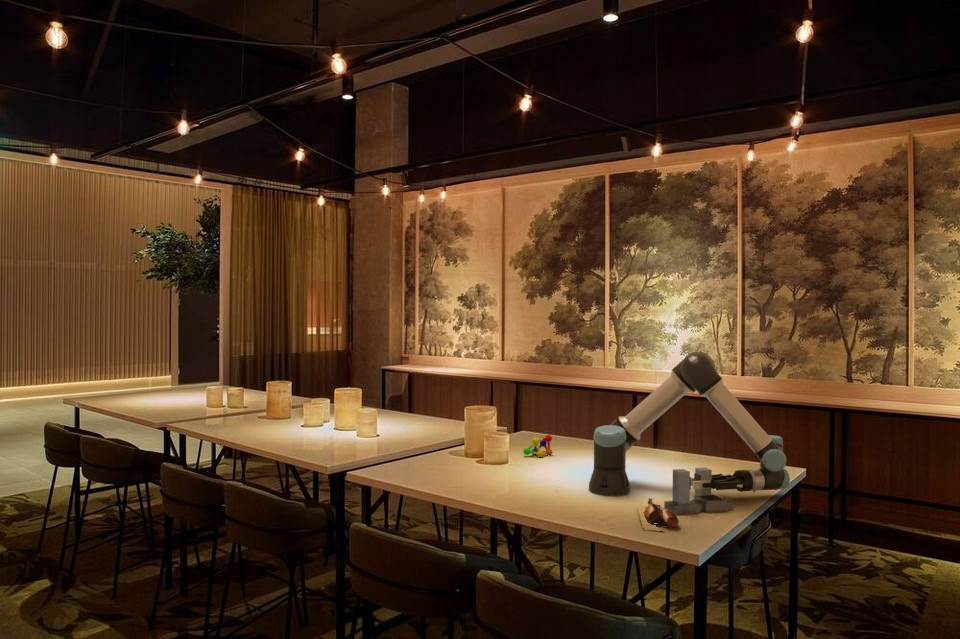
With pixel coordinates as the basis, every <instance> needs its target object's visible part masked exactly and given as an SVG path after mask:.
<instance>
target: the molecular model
mask: <svg viewBox="0 0 960 639" xmlns="http://www.w3.org/2000/svg"><path fill="white" fill-rule="evenodd" d="M552 439H553V436H552V435H550V434H547V435H545V437H543V438H539V437H533V438H532V443H531V444H530V445H529V446H528V447H525V448H523V450H522V451H523V455H525V456H529V455H530V454H532V455H533V454H536V455H535V456H537V457H538V458H539V457H542V458H544V456H545V455H546V454H547V455H546V456H548V455H550V456H552V454H553V449H551V441H552ZM533 446H534V447H533ZM542 447H544V449H545V450H541V448H542ZM531 449H532V450H531Z"/></svg>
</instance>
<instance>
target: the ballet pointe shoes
mask: <svg viewBox="0 0 960 639" xmlns="http://www.w3.org/2000/svg"><path fill="white" fill-rule="evenodd" d="M644 509H645V511H644V512H643V513H644V516H645V518H646V520H647V522H648V523H650V524H651V525H656V527H658V528H659V529H660V530H662V531H663V532H664V533H665V530H663V529H664V528H663V527H664V526H667V527H666V528H669V527H674V528H676V527H677V526H678V525H679V518H678V515H675V514H674V513H673V512H672V510H671V511H669V510H667V509H664V507H662V506H661V504H657V503H654V502H653V499H652V498H651V497H650V498H649V497H648V500H647V505H646V506H645V507H644ZM654 523H657V524H654ZM662 526H663V527H662ZM663 532H662V533H663Z"/></svg>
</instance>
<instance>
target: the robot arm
mask: <svg viewBox="0 0 960 639" xmlns="http://www.w3.org/2000/svg"><path fill="white" fill-rule="evenodd" d="M670 374H671V375H670V376H669V377H668V378H667V379H666V380H664V381H663V383H661V384H660V385H659V386H658V387H657V388H656V389H655V390H653V391H652V392H651V393H650V394H649V395H648V396H646V397H645V398H644V399H643V400H642V401H641V402H640V403H639V404H637V405H636V406H635V407H634V408H632V410H631V411H629V413H627V414H626V415H625V416H623V415H622V416H618V417H617V418H616V419H614V420H613V421H612V422H611V423H610V424H609V425H608V424H607V425H606V424H605V425H602V426H598V427H595V430H594V431H593V433H594V434H593V471H592V474H591V475H590V476H591V477H590V480H589V483H588V491H590V492H591V493H593V492H594V493H593V494H596V493H597V494H596V495H601V494H603V495H602V496H624V495H628V494H630V493H631V484H630V481H629V478H628V474H627V471H626V462H627V461H626V457H627V456H626V454H627V453H626V452H628V451H629V449H630V448H632V447H634V445H636V443H638V441H640V440H641V434H642V433H643V432H644V431H645V430H647V428H648V427H650V426H651V425H652V424H653V423H654V422H656V421H657V420H658V419H659V418H660V417H661V416H662V415H664V414H665V413H666V412H667V411H668V410H669V409H670V408H671V407H673V406H674V405H675V404H676V403H677V402H679V401H680V400H681V399H682V398H683V397H684V396H685V395H686V394H688V393H691V394H692V393H693V394H694V393H695V392H696V393H697V392H698V394H699V395H700V396H701V397H704V398H705V397H706V399H707V400H708V401H709V402H710V404H712V406H713V407H714V408H715V409H716V411H717V412H719V413H720V414H721V416H722V418H723V419H725V421H726V422H727V423H728V424H729V426H731V427H732V428H733V429H732V430H734V431H735V432H736V433H737V435H738V436H739V437H740V438H741V439H742V440H743V441H744V442H745V444H746V445H747V446H748V447H749V448H750V449H751V450H752V452H754V454H755V456H757V458H758V459H759V460H760V463H759V468H752V469H738V470H737V469H736V470H735V471H734V472H733V474H726V475H723V473H717V474H712V479H711V483H710V480H705V481H694V477H691V487H692V490H695V489H710V488H711V490H716V491H726V490H737V491H738V492H750V491H751V492H753V493H756V492H757V491H769V490H770V491H771V490H772V491H777V490H783V489H786V488H788V487H789V485H790V483H791V477H790V474H789V472H788V470H786V468H785V467H786V465H787V456H786V454H785V452H784V444H783V443H784V442H783V437H782V436H780V435H774V434H773V435H772V434H767V432H766V431H765V430H764V429H763V428H762V426H760V424H759V423H758V422H757V421H756V420H755V418H754V417H753V416H752V415H751V414H750V413H749V412H748V410H747V409H746V408H745V407H744V406H743V404H742V403H740V401H739V400H738V399H737V398H736V397H735V396H734V395H733V394H732V392H731V391H730V390H729V389H728V387H727V386H726V385H725V384H724V383H723V382H724V381H723V380H724V379H723V377H722V376H721V375H720V374H719V373H718V371H717V369H716V365H715V362H714V359H712V357H711V356H710V355H709V354H708V353H706V352H704V351H700V350H699V351H693V352H690V353H688V354H687V355H686V356H685V357H684V358H683V359H682V360H681V361H679V363H678V364H676V365H675V366H674V367H673V368H672V369H671V373H670Z"/></svg>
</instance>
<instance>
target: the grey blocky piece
mask: <svg viewBox="0 0 960 639" xmlns="http://www.w3.org/2000/svg"><path fill="white" fill-rule="evenodd" d="M691 478H692V477H691V472H690V470H687V469H684V468H679V469H678V468H676V469H675V468H674V469H672V500H665V501H664V505H663V506H664V507H663V509H667V510H669V511H671V510H672V512H673V513H674V514H675V515H676V516H678V515H679V516H680V515H694V514H698V513H706V514H708V513H709V514H710V513H720V512H728V511H731V510H730V509H734V507H733V505H734V504H733V501H732V500H729V499H726V498H723V497H720V496H718V495H716V494H711V495H698V496H695V495H693V499H692V500H690V499H691V498H690V492H691V491H690V490H691V489H692V488H691V487H692V486H691Z"/></svg>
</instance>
